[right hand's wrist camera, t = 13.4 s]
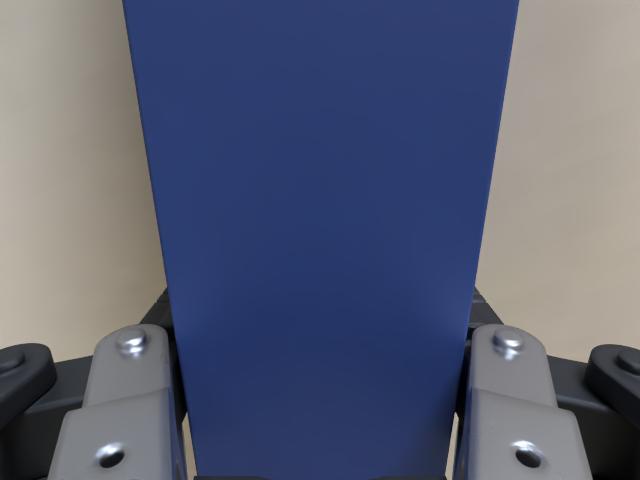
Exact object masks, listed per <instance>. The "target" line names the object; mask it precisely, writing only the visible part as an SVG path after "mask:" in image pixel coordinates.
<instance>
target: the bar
mask: <svg viewBox="0 0 640 480" xmlns="http://www.w3.org/2000/svg"><path fill="white" fill-rule="evenodd" d="M122 3H123V9H124V16H125V22H126V28H127V35H128V41H129V47H130V54H131V60H132V66H133V73H134V79H135V85H136V91H137V98H138V104H139V110H140V117H141V123H142V129H143V136H144V142H145V148H146V155H147V161H148V167H149V174H150V180H151V186H152V192H153V199H154V205H155V211H156V218H157V224H158V230H159V237H160V243H161V249H162V256H163V262H164V268H165V275H166V281H167V287H168V293H169V300H170V306H171V312H172V319H173V325H174V331H175V338H176V344H177V350H178V357H179V363H180V369H181V376H182V382H183V388H184V394H185V401H186V407H187V413H188V420H189V426H190V432H191V439H192V445H193V451H194V458H195V464H196V470H197V476H258V477H262V478H266V479H270V480H370V479H374V478H378V477H382V476H445V471H446V465H447V458H448V452H449V445H450V439H451V433H452V426H453V420H454V414H455V407H456V401H457V394H458V388H459V382H460V375H461V369H462V362H463V356H464V350H465V343H466V337H467V331H468V324H469V318H470V311H471V305H472V299H473V292H474V286H475V279H476V273H477V267H478V260H479V254H480V248H481V241H482V235H483V228H484V222H485V216H486V209H487V203H488V196H489V190H490V184H491V177H492V171H493V165H494V158H495V152H496V145H497V139H498V133H499V126H500V120H501V114H502V107H503V101H504V94H505V88H506V82H507V75H508V69H509V62H510V56H511V50H512V43H513V37H514V31H515V24H516V18H517V11H518V5H519V0H122Z"/></svg>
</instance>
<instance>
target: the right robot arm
mask: <svg viewBox="0 0 640 480" xmlns="http://www.w3.org/2000/svg"><path fill="white" fill-rule="evenodd" d="M455 412H456V413H457V415H458V418H459V420H458V427H457V433H456V443H455V454H454V465H453V476H452V480H640V350H638V349H635V348H631V347H627V346H622V345H614V344H606V345H599V346H597V347H595V348H594V349H592V351H591V354H590V357H589V361H588V363H583V362H578V361H573V360H567V359H562V358H557V357H553V356H549V355H546V350H545V348H544V346H543V344H542V343H541V342H540V341H539V340H538V339H537V338H536V337H534V336H533V335H531V334H530V333H528V332H526V331H524V330H521V329H519V328H515V327H512V326H508V325H504V324H503V322H502V321H501V320H500V319H499V317H498V316H497V315H496V313H495V312H494V311H493V309H492V308H491V307H490V306H489V304H488V303H486V300H485V299H484V298H483V297H482V295H480V294H479V291H478V290H477V289H476V288H475V286H474V292H473V299H472V305H471V311H470V318H469V324H468V331H467V337H466V343H465V350H464V356H463V362H462V369H461V375H460V382H459V388H458V394H457V401H456V407H455ZM186 413H187V407H186V401H185V394H184V388H183V382H182V376H181V369H180V363H179V357H178V350H177V344H176V338H175V331H174V325H173V319H172V312H171V306H170V300H169V293H168V287H167V288H166V289H165V291H164V292H163V294H161V296H160V297H159V298H158V300H157V303H155V304H154V305H153V306H152V308H151V309H150V310H149V311H148V313H147V314H146V315H145V317H144V318H143V319H142V321H141V322H140V323H139V324H138V325H132V326H128V327H125V328H121V329H119V330H116V331H114V332H112V333H110V334H109V335H107V336H106V337H104V338H103V339H102V340H101V341H100V342H99V343H98V344H97V346H96V348H95V350H94V355H92V356H88V357H83V358H77V359H72V360H67V361H62V362H57V363H54V361H53V358H52V354H51V351H50V349H49V348H48V347H47V346H45V345H43V344H37V343H27V344H19V345H14V346H10V347H7V348H4V349H1V350H0V480H188V476H187V465H186V454H185V443H184V433H183V426H182V422H183V420H184V417H185V415H186ZM193 480H270V479H266V478H262V477H258V476H194V479H193ZM370 480H447V479H446V476H382V477H378V478H374V479H370Z"/></svg>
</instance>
